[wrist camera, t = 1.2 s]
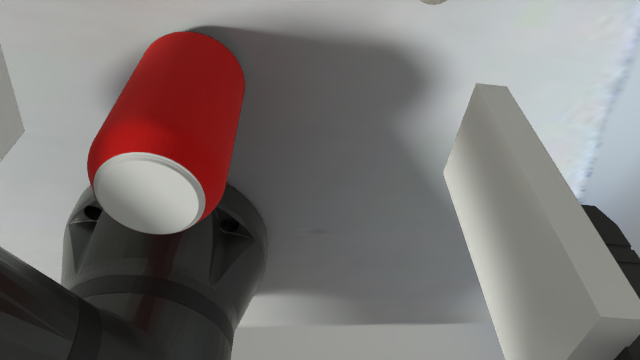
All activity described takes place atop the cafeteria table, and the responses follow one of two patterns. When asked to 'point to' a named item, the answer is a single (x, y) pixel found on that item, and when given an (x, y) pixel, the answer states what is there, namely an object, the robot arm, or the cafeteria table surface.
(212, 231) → the robot arm
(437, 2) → the pointer
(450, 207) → the cafeteria table surface
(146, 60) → the beverage can
